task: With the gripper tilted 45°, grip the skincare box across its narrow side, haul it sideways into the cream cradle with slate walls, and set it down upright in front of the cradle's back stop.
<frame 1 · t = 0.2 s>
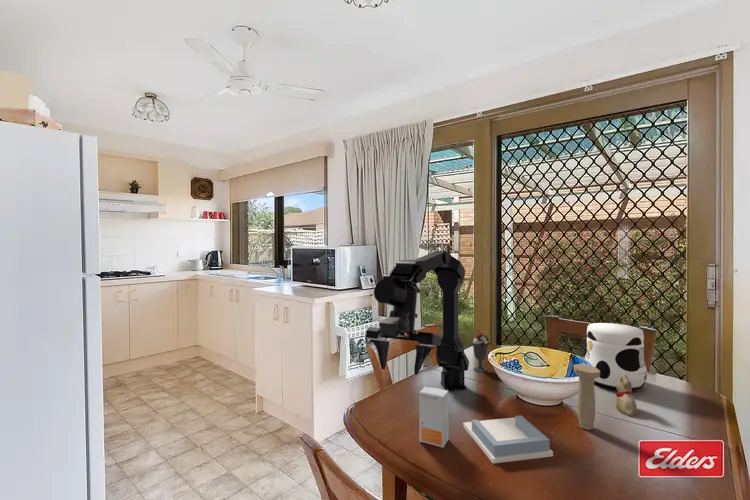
hand: (399, 371, 93), 15 cm above the table, tool tilted 15°, fingers open, 9 cm apart
chocolate bunny: (626, 410, 104), on the table
sundae: (480, 370, 136), on the table
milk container: (614, 383, 123), on the table
stop cradle: (504, 440, 89), on the table
handle: (586, 428, 95), on the table
skincare box: (434, 442, 89), on the table
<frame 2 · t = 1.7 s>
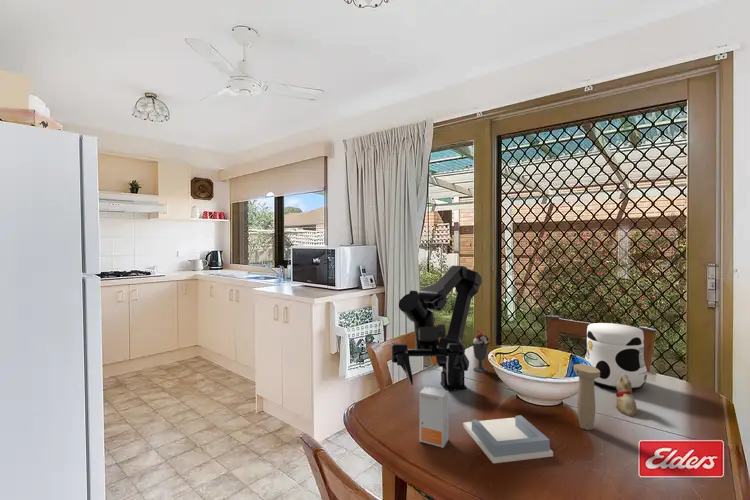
hand: (430, 384, 94), 12 cm above the table, tool tilted 45°, fingers open, 9 cm apart
nothing on the table moved.
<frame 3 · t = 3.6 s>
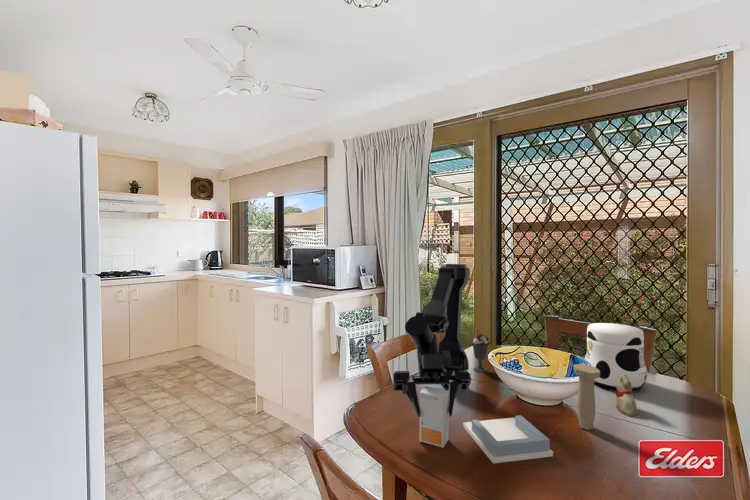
hand: (434, 416, 88), 7 cm above the table, tool tilted 45°, fingers closed on skincare box, 7 cm apart
skincare box: (434, 441, 89), on the table, touching gripper
everything else where it was.
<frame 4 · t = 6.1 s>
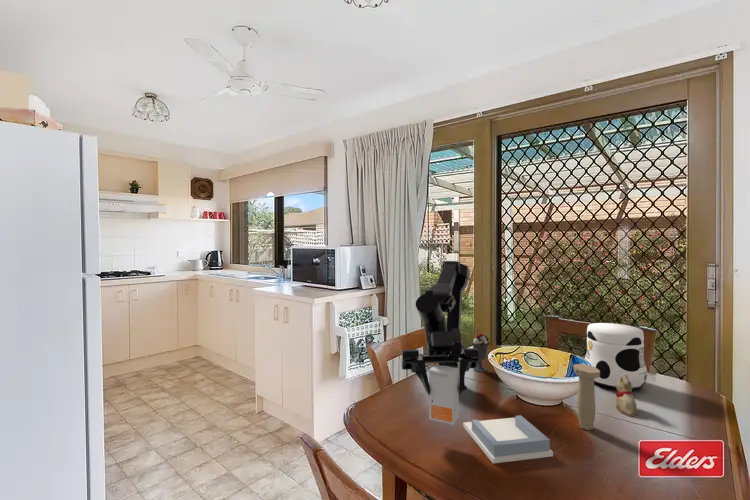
hand: (445, 393, 87), 12 cm above the table, tool tilted 45°, fingers closed on skincare box, 7 cm apart
skincare box: (444, 419, 89), point 5 cm above the table, touching gripper
everything else where it was.
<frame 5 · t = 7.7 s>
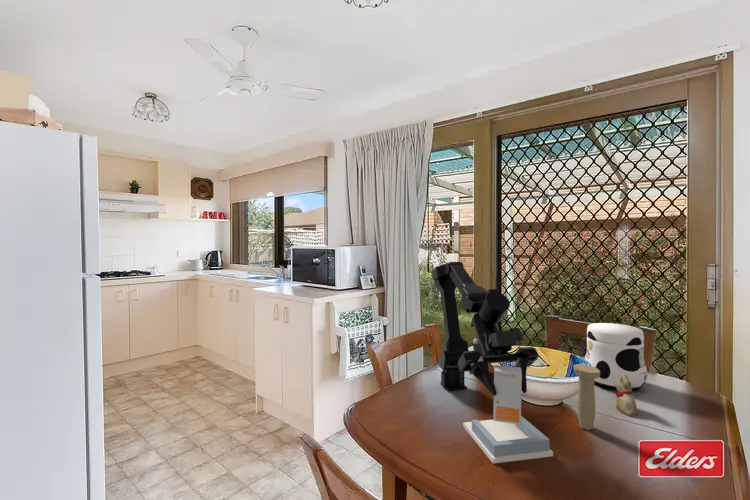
hand: (510, 393, 86), 12 cm above the table, tool tilted 45°, fingers closed on skincare box, 7 cm apart
skincare box: (507, 420, 88), point 5 cm above the table, touching gripper
everything else where it was.
when the fingers open (9 cm above the table, at t = 9.0 s): skincare box drops 1 cm, resting on stop cradle.
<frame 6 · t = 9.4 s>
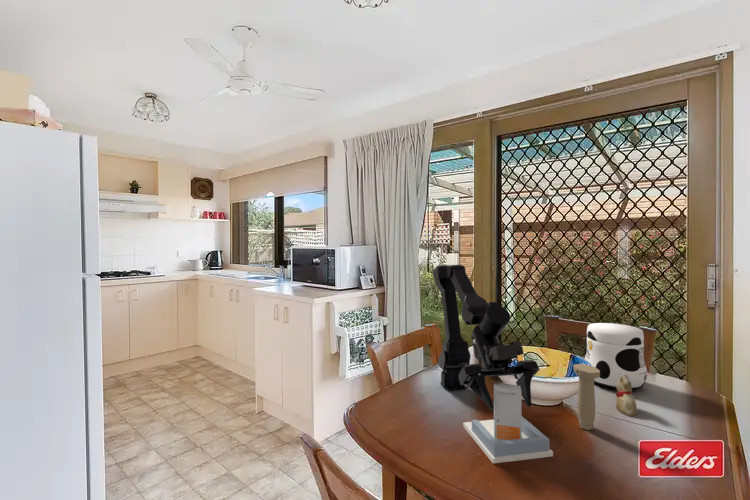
hand: (511, 407, 86), 9 cm above the table, tool tilted 45°, fingers open, 9 cm apart
skincare box: (507, 439, 88), point 1 cm above the table, touching stop cradle
everything else where it was.
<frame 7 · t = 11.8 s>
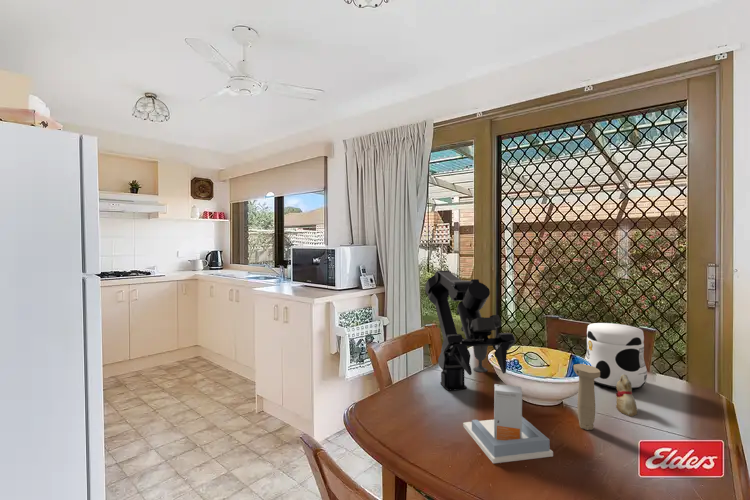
hand: (487, 373, 95), 13 cm above the table, tool tilted 45°, fingers open, 9 cm apart
nothing on the table moved.
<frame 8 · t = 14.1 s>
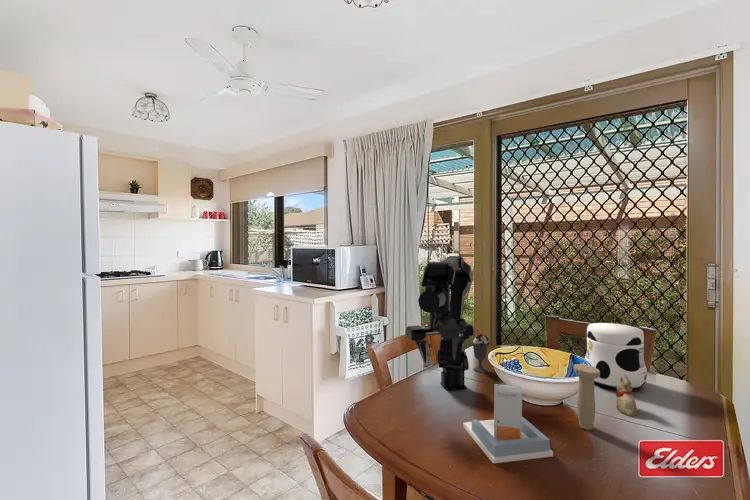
hand: (440, 361, 107), 13 cm above the table, tool pointing down, fingers open, 9 cm apart
nothing on the table moved.
at the end: skincare box inside the target area on the stop cradle (0.2 cm from its centre), point 0.8 cm above the stop cradle's base; skincare box tilted 0°; the gripper is holding nothing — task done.
